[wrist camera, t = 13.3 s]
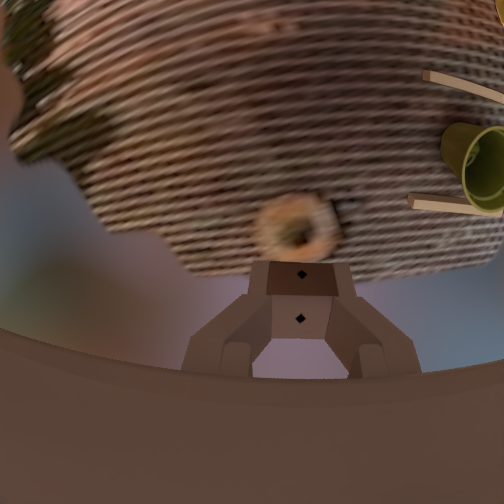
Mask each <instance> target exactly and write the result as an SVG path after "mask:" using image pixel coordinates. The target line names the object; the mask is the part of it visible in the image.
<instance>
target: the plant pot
mask: <svg viewBox="0 0 504 504" xmlns="http://www.w3.org/2000/svg"><path fill="white" fill-rule="evenodd" d="M440 152H441V156H442V158H443V160H444V162H445V163H446V164H447V165H448V167H449V168H450V169H451V170H452V171H453V173H454V174H455V175H456V176H457V178H458V179H459V180H460V182H461V183H462V187H463V191H464V193H465V196H466V198H467V199H468V201H469V202H470V203H471V204H472V205H473V206H474V207H475V208H476V209H478V210H479V211H482V212H485V213H495V212H498V211H501V210H503V209H504V127H502V126H491V127H488V128H485V127H481V126H476V125H472V124H467V123H462V122H458V123H454V124H452V125H450V126H449V127H448V128H447V129H446V130H445V131H444V133H443V135H442V138H441V148H440ZM471 156H472V158H471V160H470V161H469V162H468V163H466V162H467V160H468V159H469V158H470V157H471Z"/></svg>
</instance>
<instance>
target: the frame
mask: <svg viewBox="0 0 504 504" xmlns="http://www.w3.org/2000/svg"><path fill="white" fill-rule="evenodd" d="M422 80H426V81H430V82H434V83H438V84H442V85H446V86H450V87H453V88H457V89H460V90H464V91H467V92H470V93H473V94H476V95H479V96H482V97H485V98H488V99H491V100H494V101H497V102H499V103H502V104H504V94H502V93H499V92H497V91H494V90H491V89H489V88H486V87H483V86H480V85H477V84H475V83H472V82H468V81H465V80H462V79H459V78H456V77H452V76H449V75H445V74H442V73H438V72H434V71H429V70H423V76H422ZM407 202H408V203H409V204H410V206H411V207H412V208H413V209H423V210H435V211H447V212H457V213H467V214H476V215H485V216H494V217H501V216H502V213H503V210H501V211H498V212H495V213H485V212H482V211H479V210H478V209H476V208H475V207H474V206H473V205H472V204H471V203H470V202H469V201H468V199H464V198H456V197H447V196H438V195H429V194H419V193H409V195H408V200H407Z"/></svg>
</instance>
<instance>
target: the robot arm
mask: <svg viewBox="0 0 504 504" xmlns="http://www.w3.org/2000/svg"><path fill="white" fill-rule="evenodd" d="M271 338H301V339H325V341H326V342H327V344H328V345H329V347H330V348H331V349H332V351H333V352H334V353H335V355H336V356H337V357H338V358H339V360H340V361H341V363H342V364H343V365H344V366H345V368H346V369H347V370H348V372H349V375H348V377H347V379H279V378H277V379H276V378H256V377H253V370H252V363H253V362H254V361H255V359H256V358H257V357H258V356H259V354H260V353H261V352H262V351H263V350H264V348H265V347H266V346H267V345H268V343H269V342H270V341H271ZM0 504H504V359H502V360H498V361H493V362H488V363H484V364H478V365H473V366H467V367H461V368H455V369H448V370H441V371H434V372H427V373H422V371H421V367H420V364H419V360H418V357H417V354H416V350H415V347H414V344H413V341H412V340H411V339H410V338H409V337H407V336H406V335H405V334H404V333H403V332H402V331H401V330H399V329H398V328H397V327H396V326H395V325H394V324H392V323H391V322H390V321H389V320H388V319H387V318H386V317H384V316H383V315H382V314H381V313H380V312H379V311H377V310H376V309H375V308H374V307H373V306H372V305H370V304H369V303H368V302H367V301H366V300H365V299H363V298H362V297H357V295H356V291H355V287H354V283H353V279H352V275H351V271H350V267H349V264H348V263H301V262H280V261H270V262H269V261H253V263H252V269H251V275H250V281H249V288H248V294H242V295H241V296H240V297H239V298H238V299H236V300H235V301H234V302H233V303H232V304H230V305H229V306H228V307H227V308H226V309H224V310H223V311H222V312H221V313H219V314H218V315H217V316H216V317H215V318H214V319H212V320H211V321H210V322H209V323H207V324H206V325H205V326H204V327H202V328H201V329H200V330H199V331H197V333H195V334H194V335H193V336H191V338H190V341H189V345H188V347H187V351H186V354H185V357H184V361H183V364H182V367H181V370H174V369H167V368H161V367H154V366H148V365H142V364H137V363H131V362H126V361H121V360H116V359H111V358H106V357H101V356H97V355H92V354H88V353H83V352H80V351H76V350H71V349H68V348H64V347H60V346H57V345H53V344H49V343H46V342H42V341H39V340H36V339H32V338H29V337H26V336H22V335H20V334H16V333H14V332H11V331H8V330H5V329H2V328H0Z"/></svg>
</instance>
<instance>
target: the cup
mask: <svg viewBox="0 0 504 504" xmlns="http://www.w3.org/2000/svg"><path fill="white" fill-rule="evenodd" d="M495 4H496V8H497V12H498V15H499V17H500V20H501V22H502V24H503V26H504V0H495Z"/></svg>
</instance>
